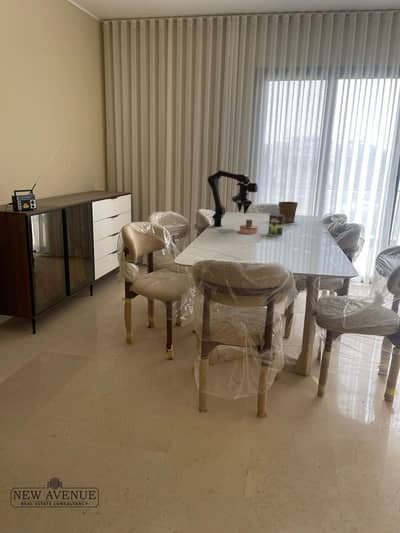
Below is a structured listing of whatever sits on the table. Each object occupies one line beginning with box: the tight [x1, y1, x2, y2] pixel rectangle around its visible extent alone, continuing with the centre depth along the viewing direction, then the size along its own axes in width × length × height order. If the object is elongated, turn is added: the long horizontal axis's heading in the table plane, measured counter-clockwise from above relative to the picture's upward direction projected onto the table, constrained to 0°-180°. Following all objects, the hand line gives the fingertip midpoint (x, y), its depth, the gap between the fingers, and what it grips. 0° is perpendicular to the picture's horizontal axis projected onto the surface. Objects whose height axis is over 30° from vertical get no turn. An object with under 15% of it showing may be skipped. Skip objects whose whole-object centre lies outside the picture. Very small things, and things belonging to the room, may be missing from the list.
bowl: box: [239, 227, 259, 235], centre depth 285 cm, size 12×12×4 cm
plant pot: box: [278, 201, 299, 224], centre depth 328 cm, size 16×16×16 cm
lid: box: [239, 218, 259, 229], centre depth 283 cm, size 13×13×6 cm
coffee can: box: [267, 213, 284, 237], centre depth 278 cm, size 10×10×14 cm
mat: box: [214, 228, 239, 234], centre depth 287 cm, size 14×14×1 cm
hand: (242, 212), depth 293 cm, fingers open, 9 cm apart
